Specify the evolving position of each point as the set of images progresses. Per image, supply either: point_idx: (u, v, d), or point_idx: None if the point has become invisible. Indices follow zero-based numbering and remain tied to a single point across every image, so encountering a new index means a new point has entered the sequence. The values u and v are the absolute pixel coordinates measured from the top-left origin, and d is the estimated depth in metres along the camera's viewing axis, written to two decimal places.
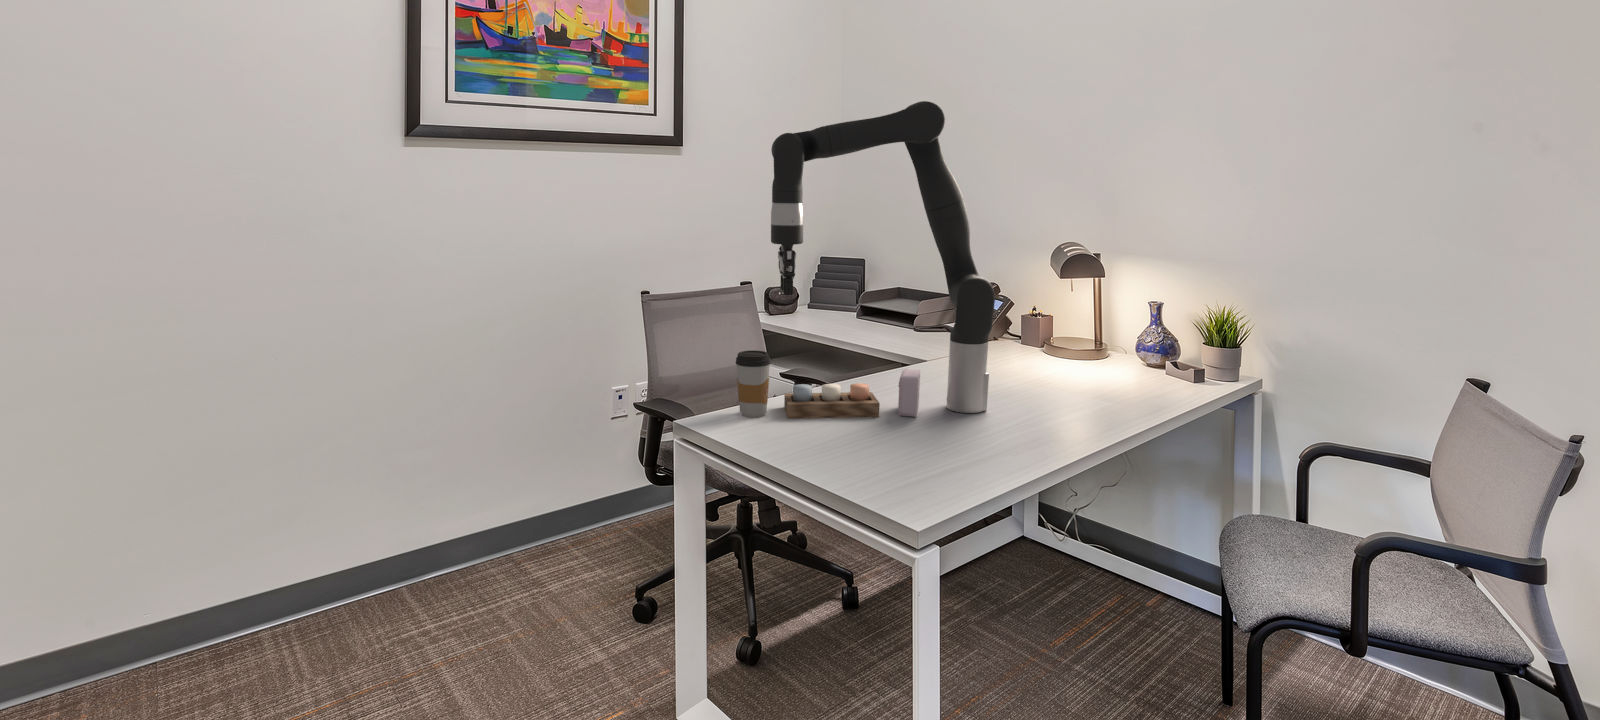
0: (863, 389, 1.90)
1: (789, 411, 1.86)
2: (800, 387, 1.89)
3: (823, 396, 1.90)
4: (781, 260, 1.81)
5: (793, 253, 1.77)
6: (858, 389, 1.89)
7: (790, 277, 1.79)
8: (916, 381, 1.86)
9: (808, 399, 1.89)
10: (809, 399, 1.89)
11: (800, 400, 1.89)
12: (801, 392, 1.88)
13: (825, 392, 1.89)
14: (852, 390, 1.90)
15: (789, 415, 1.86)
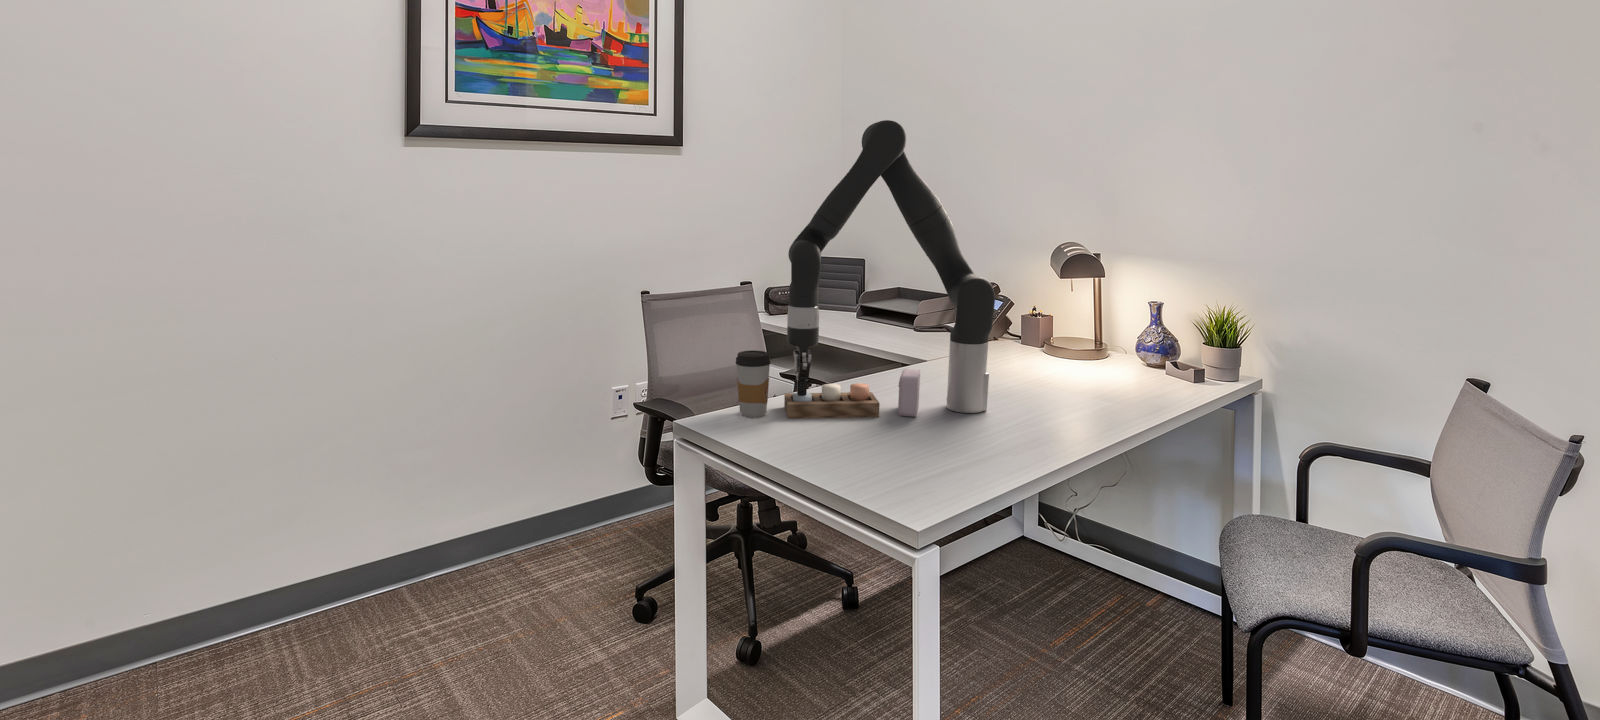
0: (863, 389, 1.90)
1: (789, 411, 1.86)
2: None
3: (823, 396, 1.90)
4: (796, 363, 1.87)
5: (808, 366, 1.83)
6: (858, 389, 1.89)
7: (804, 380, 1.87)
8: (916, 381, 1.86)
9: None
10: None
11: None
12: (800, 401, 1.89)
13: (825, 392, 1.89)
14: (852, 390, 1.90)
15: (789, 415, 1.86)
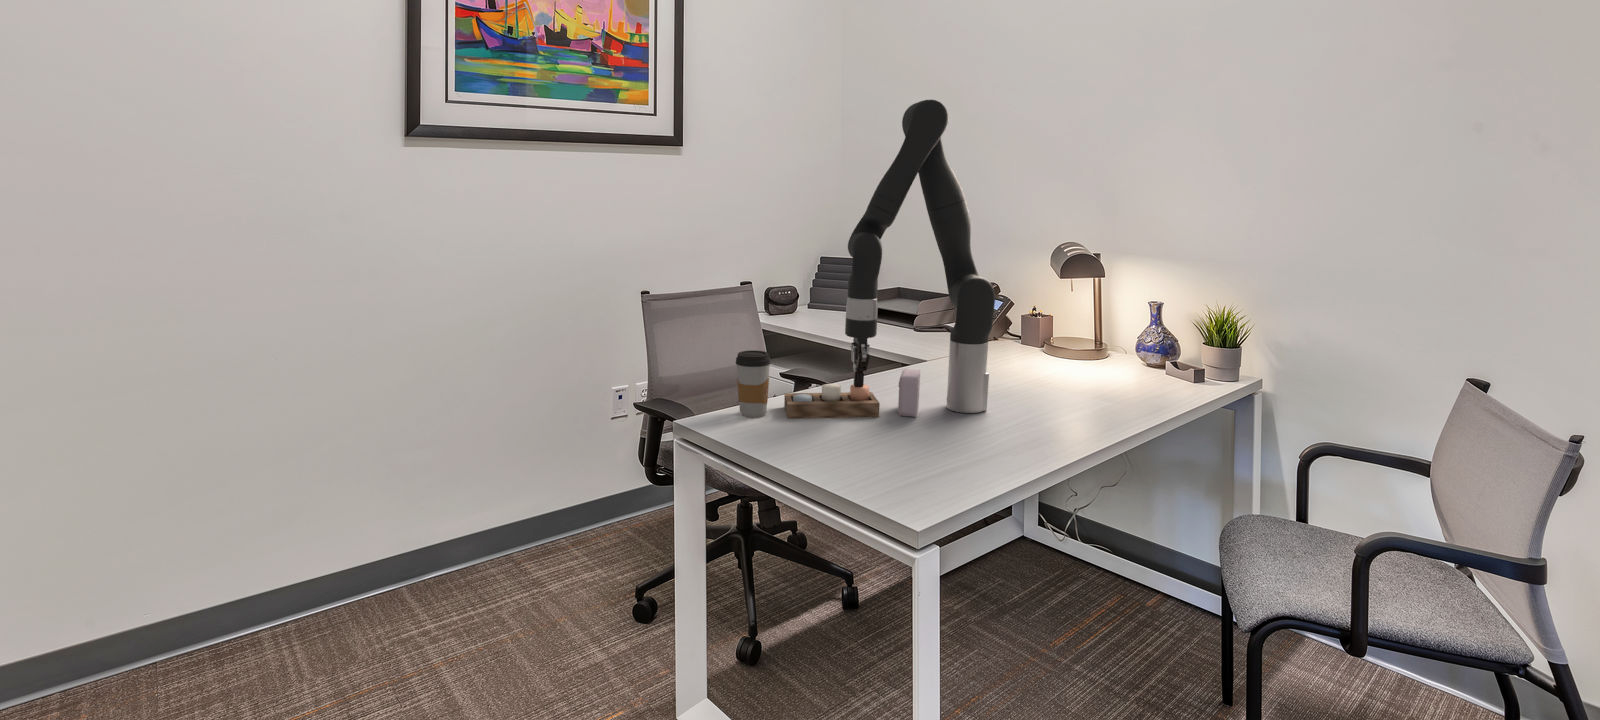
0: (863, 390, 1.90)
1: (789, 411, 1.86)
2: (800, 397, 1.90)
3: (823, 396, 1.90)
4: (855, 355, 1.88)
5: (868, 358, 1.84)
6: (858, 390, 1.89)
7: (862, 371, 1.88)
8: (916, 381, 1.86)
9: None
10: None
11: None
12: None
13: (825, 392, 1.89)
14: (852, 391, 1.90)
15: (789, 415, 1.86)
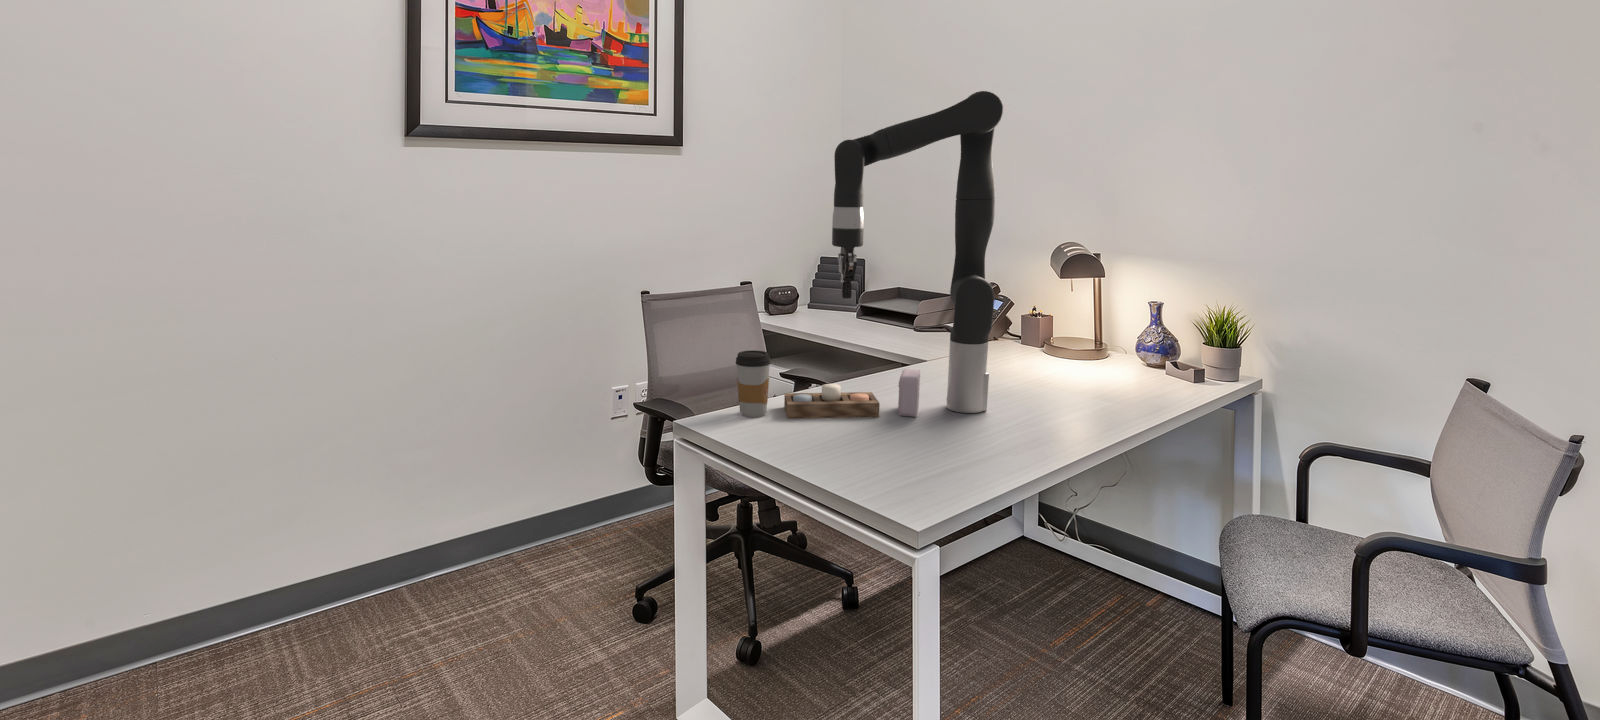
0: (863, 399, 1.90)
1: (789, 411, 1.86)
2: (800, 397, 1.90)
3: (823, 396, 1.90)
4: (842, 265, 1.89)
5: (855, 266, 1.85)
6: (858, 399, 1.90)
7: (849, 281, 1.89)
8: (916, 381, 1.86)
9: None
10: None
11: None
12: None
13: (825, 392, 1.89)
14: (852, 400, 1.91)
15: (789, 415, 1.86)
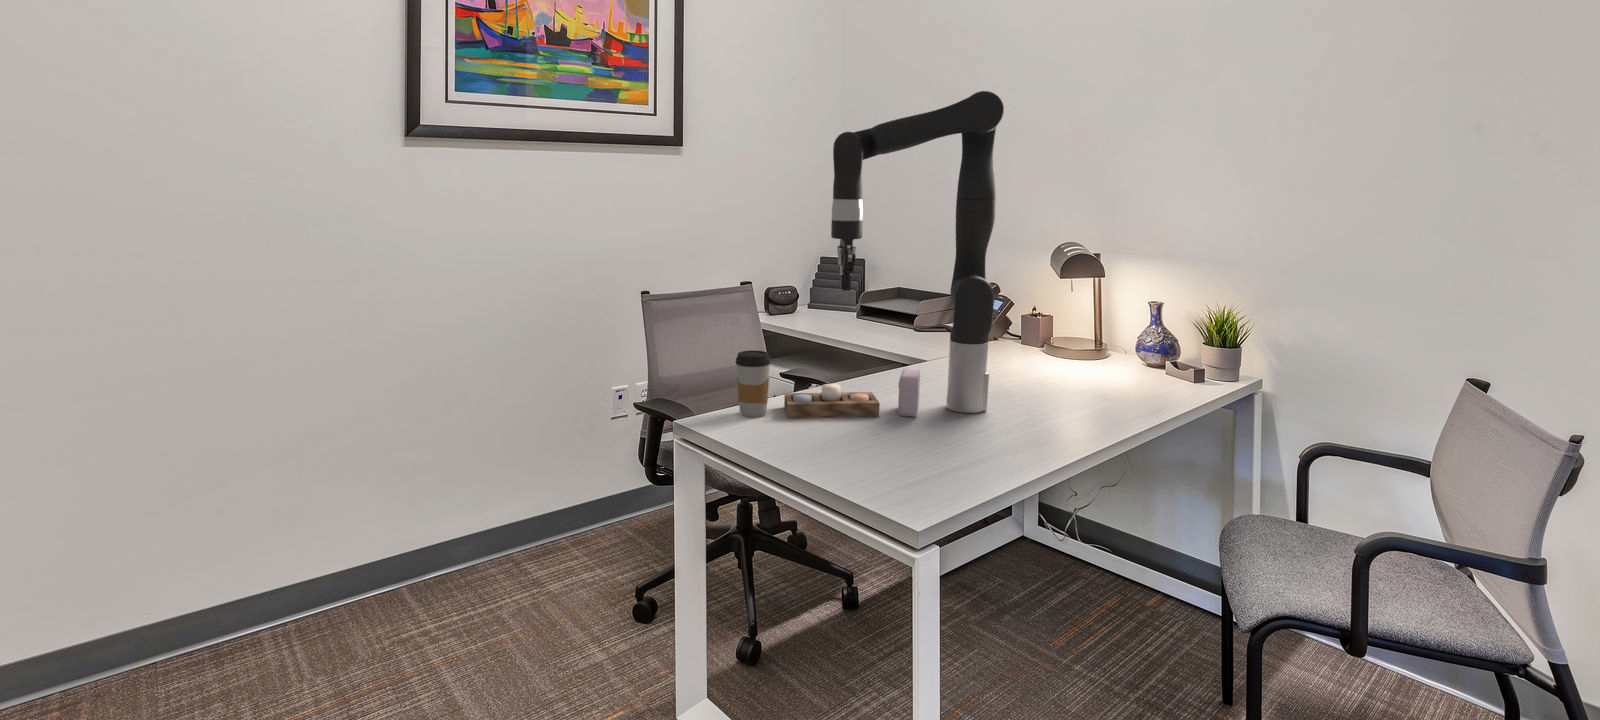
0: (863, 399, 1.90)
1: (789, 411, 1.86)
2: (800, 397, 1.90)
3: (823, 396, 1.90)
4: (841, 257, 1.89)
5: (854, 258, 1.86)
6: (858, 399, 1.90)
7: (848, 273, 1.90)
8: (916, 381, 1.86)
9: None
10: None
11: None
12: None
13: (825, 392, 1.89)
14: (852, 400, 1.91)
15: (789, 415, 1.86)
